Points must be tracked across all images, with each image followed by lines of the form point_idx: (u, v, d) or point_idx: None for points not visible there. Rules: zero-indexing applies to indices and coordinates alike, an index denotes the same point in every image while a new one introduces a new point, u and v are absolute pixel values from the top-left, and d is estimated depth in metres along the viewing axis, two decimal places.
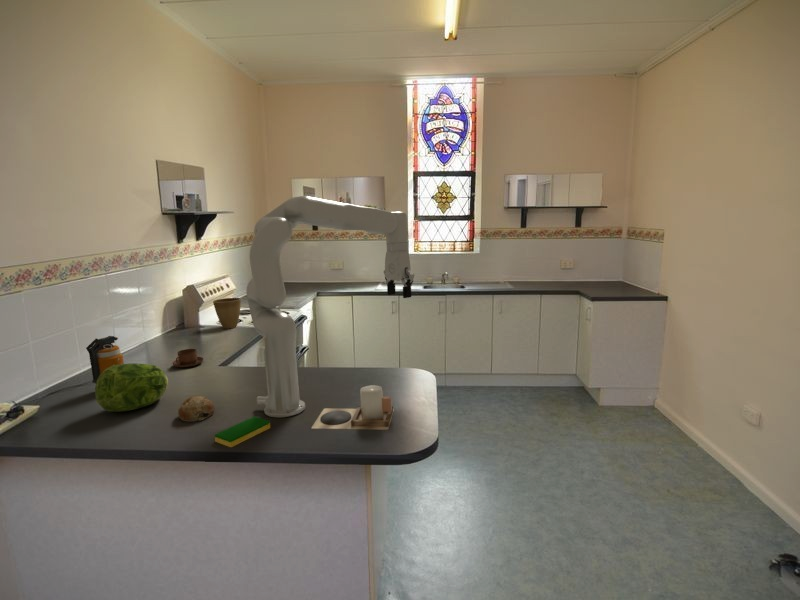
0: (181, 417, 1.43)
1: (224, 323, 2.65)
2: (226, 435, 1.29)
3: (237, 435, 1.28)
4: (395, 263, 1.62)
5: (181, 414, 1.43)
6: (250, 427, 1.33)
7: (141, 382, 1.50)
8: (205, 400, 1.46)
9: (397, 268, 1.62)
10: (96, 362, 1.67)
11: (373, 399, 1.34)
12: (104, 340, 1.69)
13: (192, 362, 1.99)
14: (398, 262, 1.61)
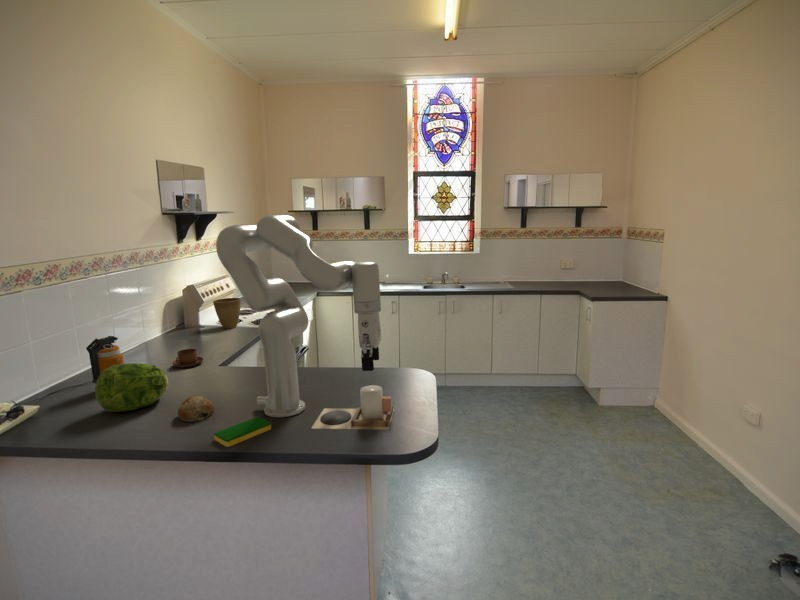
0: (181, 417, 1.43)
1: (224, 323, 2.65)
2: (224, 434, 1.29)
3: (235, 435, 1.28)
4: (379, 322, 1.35)
5: (181, 414, 1.43)
6: (250, 427, 1.33)
7: (141, 382, 1.50)
8: (205, 400, 1.47)
9: None
10: (96, 362, 1.67)
11: (373, 399, 1.34)
12: (104, 340, 1.69)
13: (192, 362, 1.99)
14: (379, 319, 1.37)
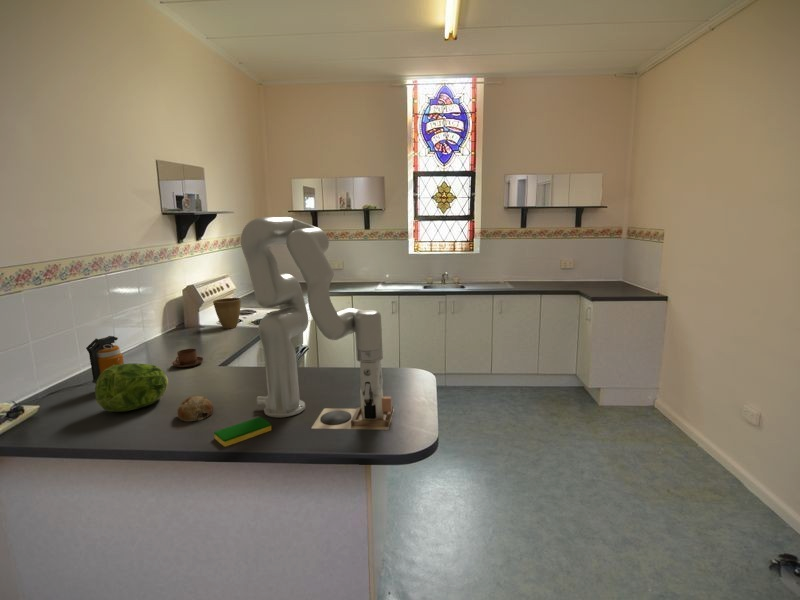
0: (180, 417, 1.43)
1: (224, 323, 2.65)
2: (223, 433, 1.30)
3: (233, 435, 1.28)
4: (381, 368, 1.38)
5: (180, 414, 1.43)
6: (250, 427, 1.33)
7: (141, 382, 1.50)
8: (204, 400, 1.47)
9: (381, 372, 1.39)
10: (96, 362, 1.67)
11: None
12: (104, 340, 1.69)
13: (192, 362, 1.99)
14: None
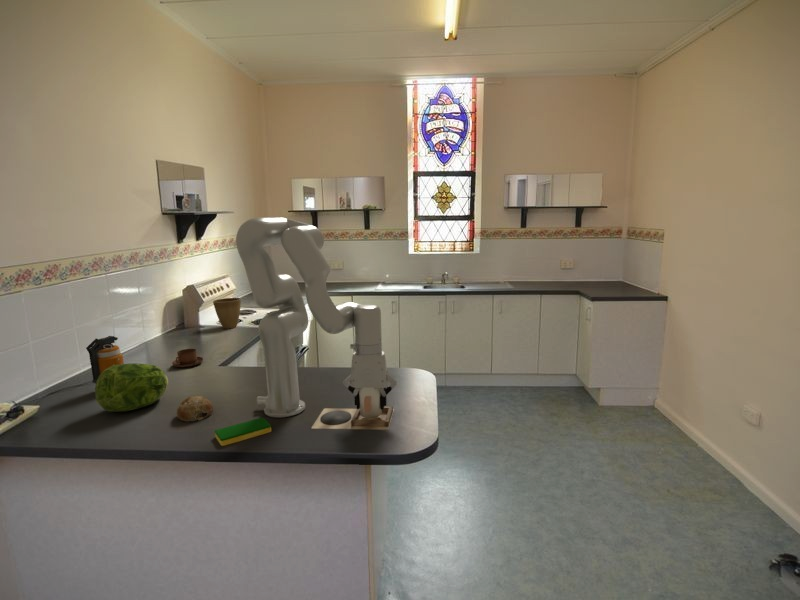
0: (180, 417, 1.43)
1: (224, 323, 2.65)
2: (223, 432, 1.30)
3: (231, 435, 1.29)
4: (376, 368, 1.32)
5: (180, 414, 1.43)
6: (249, 428, 1.32)
7: (141, 382, 1.50)
8: (204, 400, 1.47)
9: (380, 374, 1.33)
10: (96, 362, 1.67)
11: (359, 391, 1.36)
12: (104, 340, 1.69)
13: (192, 362, 1.99)
14: (381, 367, 1.32)
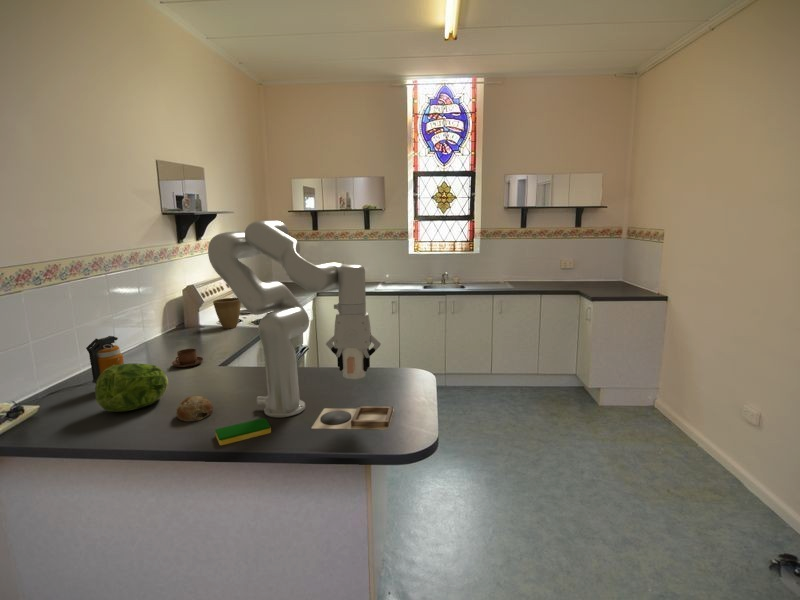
0: (179, 417, 1.43)
1: (224, 323, 2.65)
2: (222, 432, 1.31)
3: (230, 434, 1.29)
4: (359, 329, 1.31)
5: (179, 414, 1.43)
6: (249, 428, 1.32)
7: (141, 382, 1.50)
8: (203, 400, 1.47)
9: (363, 334, 1.31)
10: (96, 362, 1.67)
11: (342, 352, 1.34)
12: (104, 340, 1.69)
13: (192, 362, 1.99)
14: (365, 327, 1.31)
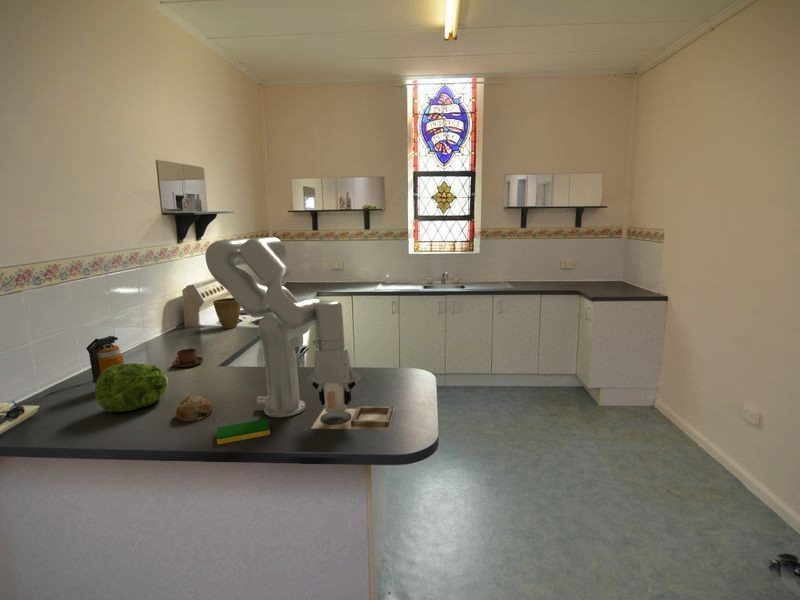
0: (179, 417, 1.43)
1: (224, 323, 2.65)
2: (222, 431, 1.31)
3: (228, 434, 1.29)
4: (338, 364, 1.33)
5: (179, 414, 1.43)
6: (248, 429, 1.32)
7: (141, 382, 1.50)
8: (203, 400, 1.47)
9: (342, 369, 1.33)
10: (96, 362, 1.67)
11: (323, 386, 1.37)
12: (104, 340, 1.69)
13: (192, 362, 1.99)
14: (344, 362, 1.33)
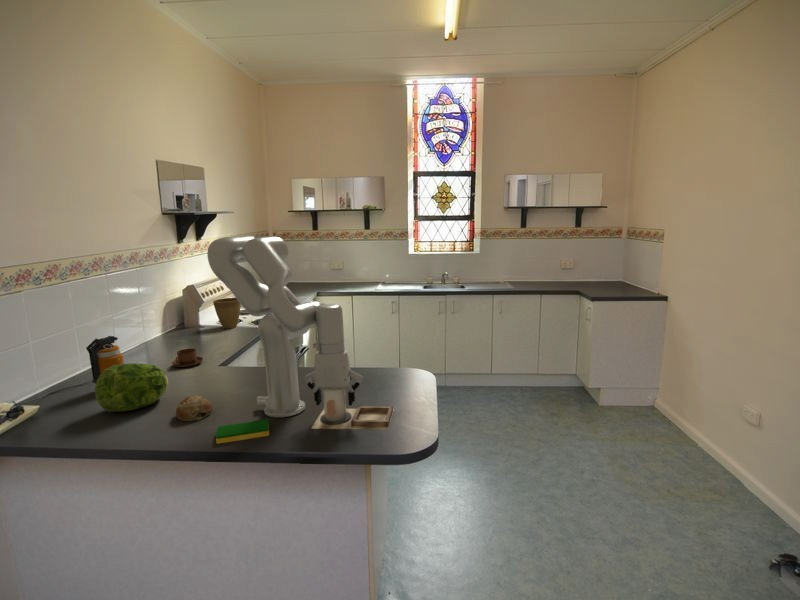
0: (179, 417, 1.43)
1: (224, 323, 2.65)
2: (222, 430, 1.32)
3: (227, 434, 1.29)
4: (338, 367, 1.33)
5: (179, 414, 1.43)
6: (247, 429, 1.32)
7: (141, 382, 1.50)
8: (203, 400, 1.47)
9: (342, 373, 1.34)
10: (96, 362, 1.67)
11: (323, 395, 1.37)
12: (104, 340, 1.69)
13: (192, 362, 1.99)
14: (343, 365, 1.33)
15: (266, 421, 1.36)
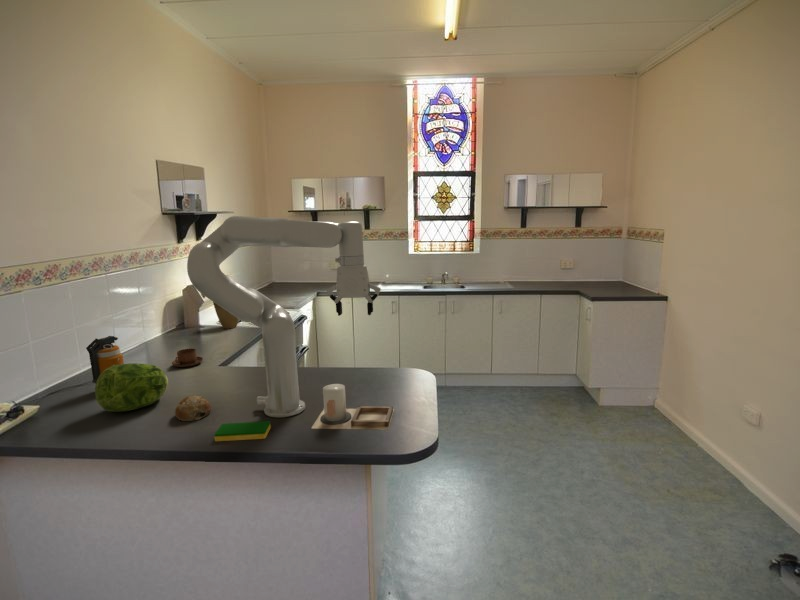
0: (178, 416, 1.44)
1: (224, 323, 2.65)
2: (223, 428, 1.33)
3: (225, 432, 1.30)
4: (358, 278, 1.47)
5: (178, 413, 1.43)
6: (246, 430, 1.31)
7: (141, 382, 1.50)
8: (202, 399, 1.47)
9: (362, 283, 1.47)
10: (96, 362, 1.67)
11: (323, 395, 1.37)
12: (104, 340, 1.69)
13: (191, 362, 1.99)
14: (363, 276, 1.47)
15: (267, 423, 1.35)
